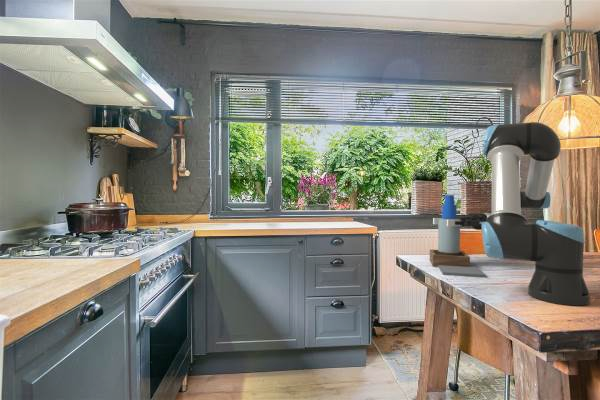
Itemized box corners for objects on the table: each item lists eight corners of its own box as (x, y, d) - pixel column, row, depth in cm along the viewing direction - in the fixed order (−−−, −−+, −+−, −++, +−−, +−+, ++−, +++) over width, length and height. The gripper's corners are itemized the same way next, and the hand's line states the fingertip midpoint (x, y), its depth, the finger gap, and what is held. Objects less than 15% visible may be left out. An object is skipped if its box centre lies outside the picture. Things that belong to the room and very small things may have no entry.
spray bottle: (434, 251, 154) (434, 194, 153) (444, 249, 159) (444, 194, 159) (453, 253, 147) (454, 194, 146) (463, 251, 152) (464, 194, 152)
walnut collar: (469, 268, 144) (470, 256, 144) (432, 266, 148) (433, 255, 148) (463, 261, 158) (463, 251, 158) (429, 260, 162) (429, 249, 162)
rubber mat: (485, 277, 130) (485, 274, 130) (442, 274, 134) (442, 272, 134) (477, 269, 143) (477, 267, 143) (438, 267, 147) (438, 265, 147)
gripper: (502, 232, 147) (457, 233, 141) (465, 227, 168) (425, 228, 162) (502, 214, 147) (457, 215, 141) (466, 211, 168) (425, 212, 162)
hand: (440, 222), depth 152 cm, fingers closed on spray bottle, 9 cm apart
